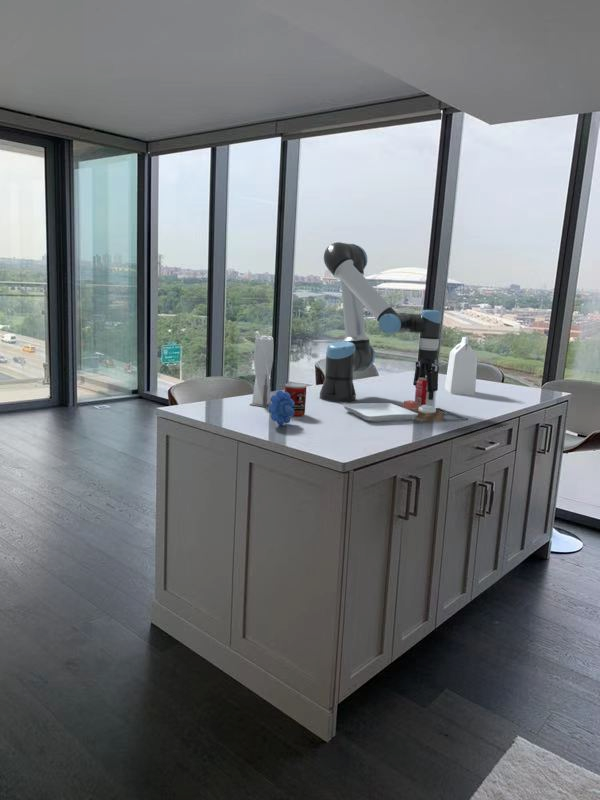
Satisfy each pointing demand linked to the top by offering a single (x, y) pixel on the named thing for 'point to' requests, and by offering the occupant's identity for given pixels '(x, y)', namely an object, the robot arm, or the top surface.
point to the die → (410, 404)
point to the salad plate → (380, 412)
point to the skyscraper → (262, 370)
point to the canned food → (297, 397)
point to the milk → (462, 369)
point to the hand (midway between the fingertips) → (423, 405)
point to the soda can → (421, 391)
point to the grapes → (281, 407)
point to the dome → (427, 409)
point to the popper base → (428, 415)
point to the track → (452, 414)
